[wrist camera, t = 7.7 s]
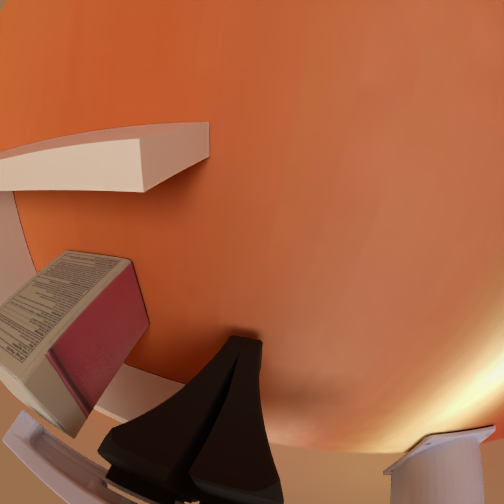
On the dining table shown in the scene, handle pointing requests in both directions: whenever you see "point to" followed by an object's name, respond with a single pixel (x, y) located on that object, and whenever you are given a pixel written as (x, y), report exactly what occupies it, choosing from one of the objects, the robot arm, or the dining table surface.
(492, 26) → the dining table surface
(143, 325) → the small box
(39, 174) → the u-shaped bracket
